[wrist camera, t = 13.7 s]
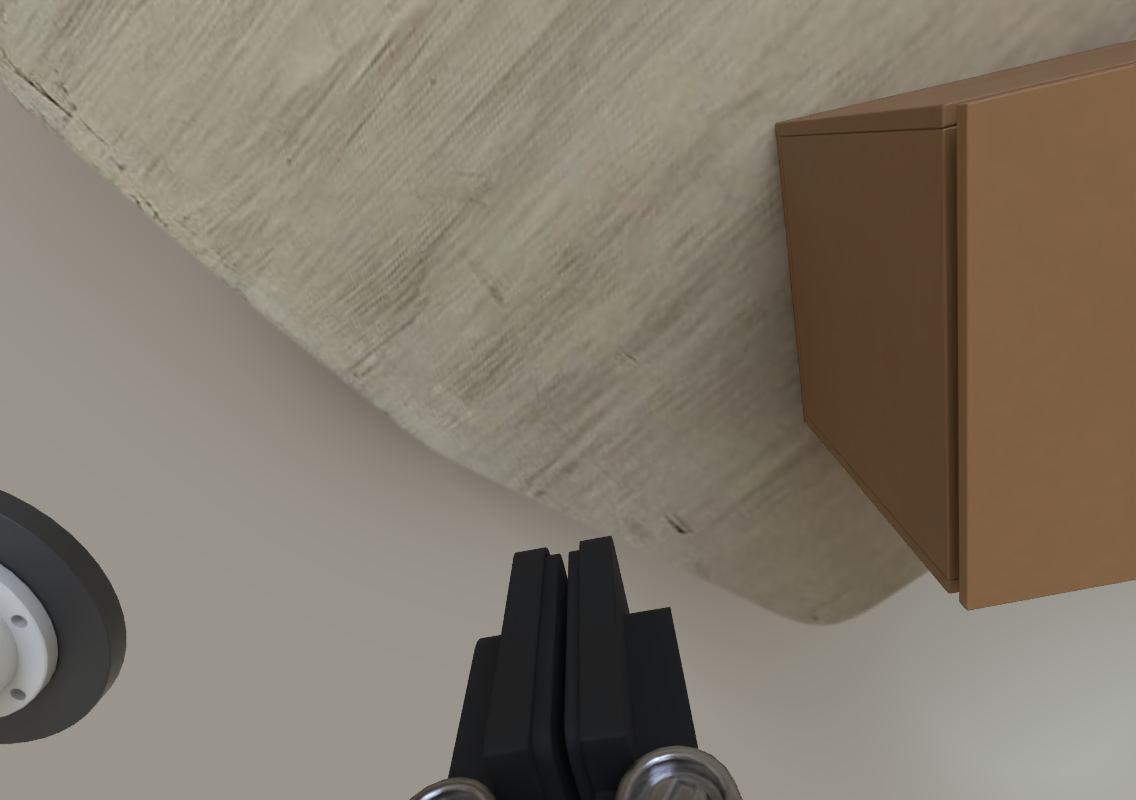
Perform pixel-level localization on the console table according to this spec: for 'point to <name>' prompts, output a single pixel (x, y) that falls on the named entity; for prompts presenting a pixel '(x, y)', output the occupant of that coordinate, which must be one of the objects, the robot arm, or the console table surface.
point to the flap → (1047, 338)
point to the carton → (891, 290)
